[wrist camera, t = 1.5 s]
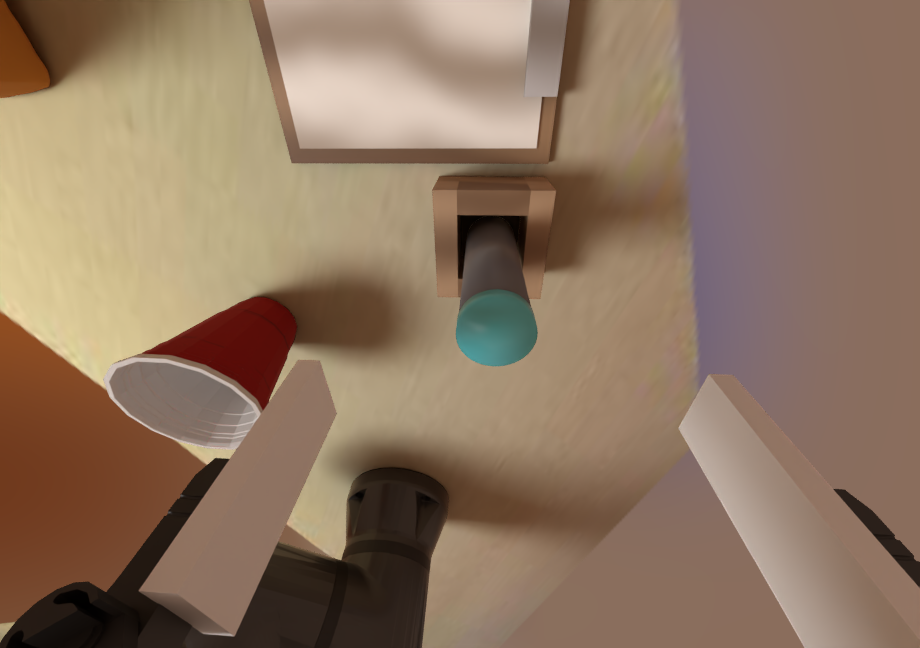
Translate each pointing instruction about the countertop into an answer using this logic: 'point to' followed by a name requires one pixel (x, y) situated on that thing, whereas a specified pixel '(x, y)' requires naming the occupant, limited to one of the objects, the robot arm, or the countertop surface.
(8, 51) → the coffee package
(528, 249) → the stand
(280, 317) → the plastic cup
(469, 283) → the marker
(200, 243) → the countertop surface
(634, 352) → the countertop surface
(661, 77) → the countertop surface
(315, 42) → the clipboard
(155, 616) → the robot arm
